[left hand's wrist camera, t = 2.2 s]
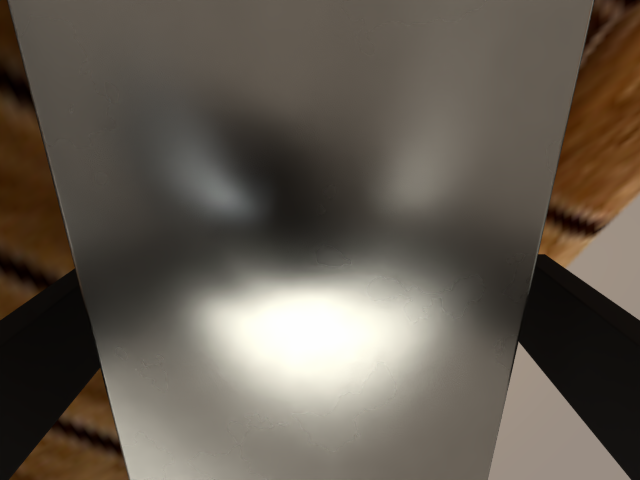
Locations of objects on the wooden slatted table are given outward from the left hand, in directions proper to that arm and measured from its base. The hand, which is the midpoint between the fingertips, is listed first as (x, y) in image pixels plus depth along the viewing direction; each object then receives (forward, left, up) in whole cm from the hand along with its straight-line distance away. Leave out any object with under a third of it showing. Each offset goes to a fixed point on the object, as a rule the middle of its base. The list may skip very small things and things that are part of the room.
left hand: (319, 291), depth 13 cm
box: (-5, +8, -7) cm, 11 cm away
